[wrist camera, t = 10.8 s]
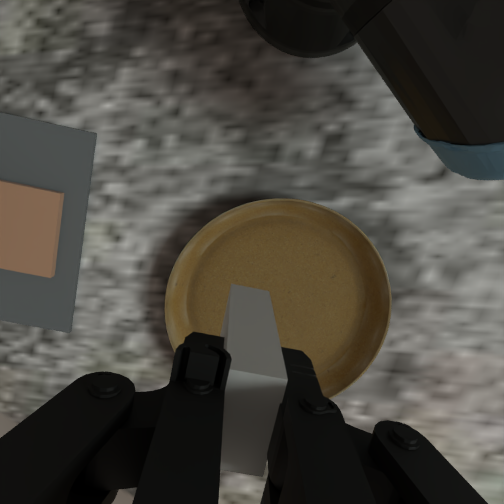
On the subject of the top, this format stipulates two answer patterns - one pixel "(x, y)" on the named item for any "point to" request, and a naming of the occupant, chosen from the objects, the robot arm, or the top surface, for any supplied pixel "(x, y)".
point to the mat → (72, 221)
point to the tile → (29, 228)
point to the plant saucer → (288, 283)
